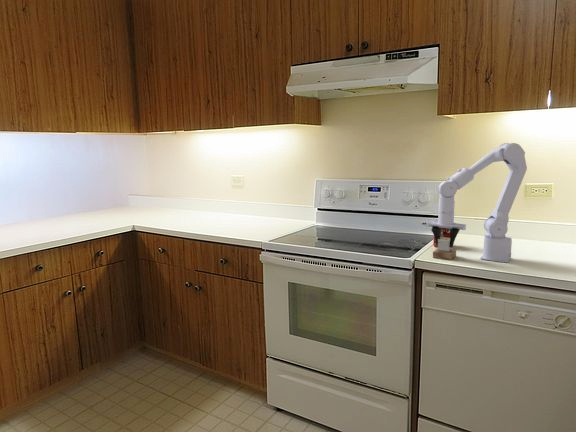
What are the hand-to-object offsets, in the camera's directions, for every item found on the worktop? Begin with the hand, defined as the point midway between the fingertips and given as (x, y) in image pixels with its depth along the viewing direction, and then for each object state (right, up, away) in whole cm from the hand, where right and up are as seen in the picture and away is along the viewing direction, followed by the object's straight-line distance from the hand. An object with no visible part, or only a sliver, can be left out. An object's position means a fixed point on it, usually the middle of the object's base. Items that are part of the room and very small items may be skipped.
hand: (444, 246), depth 164 cm
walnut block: (0, -4, +1) cm, 4 cm away
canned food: (+6, -2, +18) cm, 18 cm away
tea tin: (0, -2, +1) cm, 2 cm away
